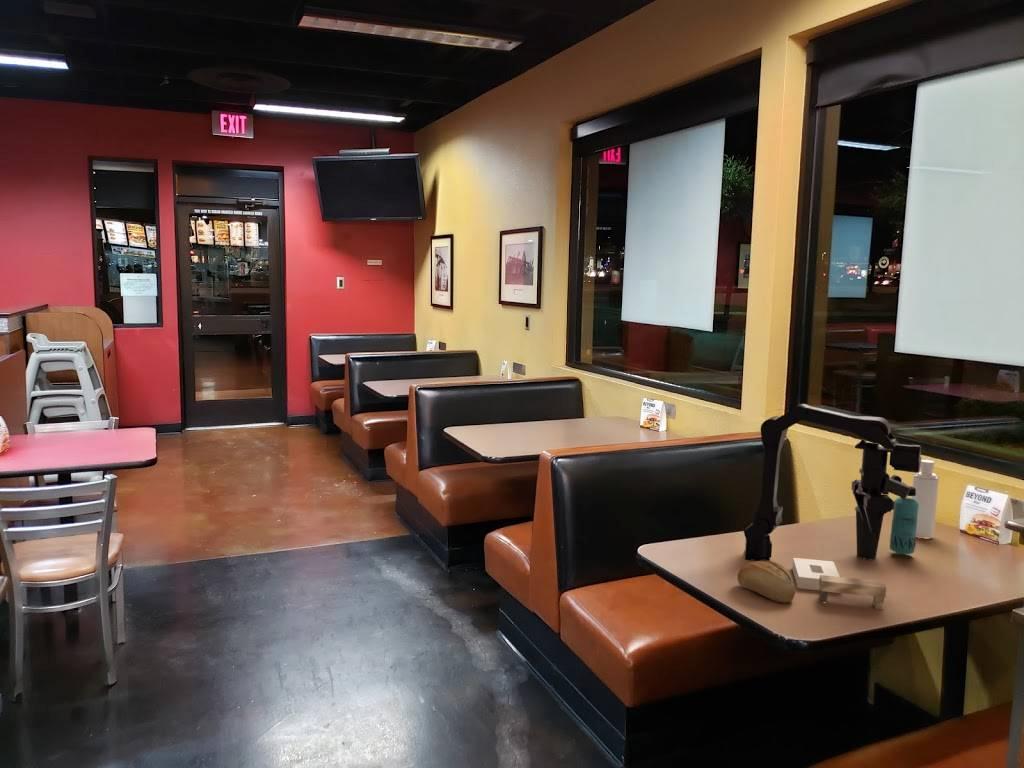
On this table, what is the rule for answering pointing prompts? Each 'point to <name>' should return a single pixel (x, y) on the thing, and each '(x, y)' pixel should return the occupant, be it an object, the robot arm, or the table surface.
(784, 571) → the bread roll
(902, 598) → the table surface
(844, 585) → the tan elongated block
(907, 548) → the beverage bottle
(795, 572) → the white slotted block
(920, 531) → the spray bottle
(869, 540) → the drinking cup
